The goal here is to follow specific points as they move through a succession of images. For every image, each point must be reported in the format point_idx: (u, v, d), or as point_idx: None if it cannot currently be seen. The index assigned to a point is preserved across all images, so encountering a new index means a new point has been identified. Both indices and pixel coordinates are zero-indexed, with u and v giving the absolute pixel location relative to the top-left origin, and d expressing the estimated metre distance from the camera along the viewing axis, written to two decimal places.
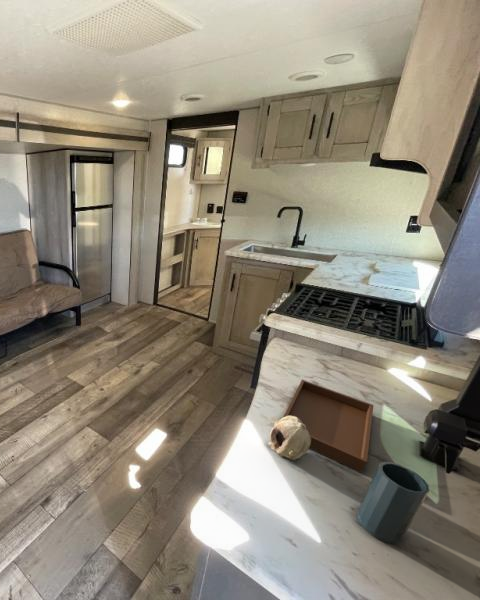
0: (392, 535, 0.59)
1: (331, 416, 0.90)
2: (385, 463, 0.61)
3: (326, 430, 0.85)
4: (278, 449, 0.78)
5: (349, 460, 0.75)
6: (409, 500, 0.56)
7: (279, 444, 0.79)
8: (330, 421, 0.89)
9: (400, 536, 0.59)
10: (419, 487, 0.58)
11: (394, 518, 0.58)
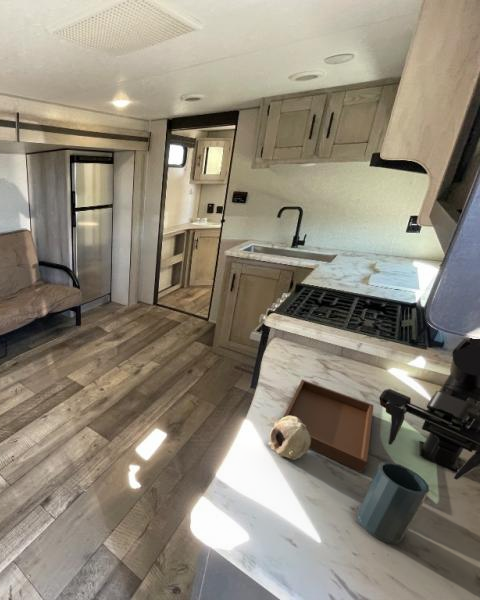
0: (392, 535, 0.59)
1: (331, 416, 0.90)
2: (385, 463, 0.61)
3: (326, 430, 0.85)
4: (278, 449, 0.78)
5: (349, 460, 0.75)
6: (409, 500, 0.56)
7: (279, 444, 0.79)
8: (330, 421, 0.89)
9: (400, 536, 0.59)
10: (419, 487, 0.58)
11: (394, 518, 0.58)
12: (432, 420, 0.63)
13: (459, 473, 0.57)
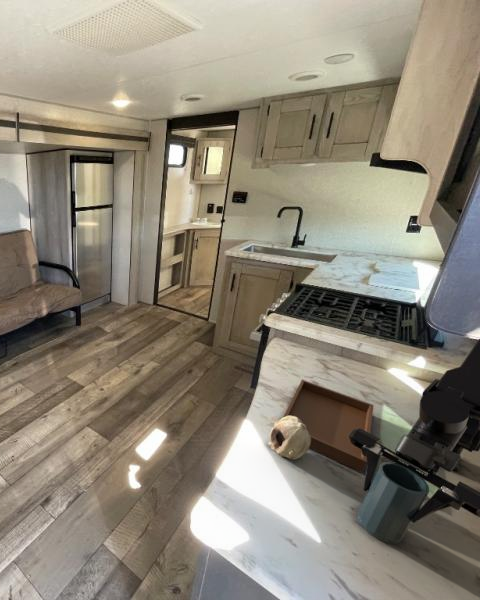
0: (392, 535, 0.59)
1: (331, 416, 0.90)
2: (385, 463, 0.61)
3: (326, 430, 0.85)
4: (278, 449, 0.78)
5: (349, 460, 0.75)
6: (409, 500, 0.56)
7: (279, 444, 0.79)
8: (330, 421, 0.89)
9: (400, 536, 0.59)
10: (419, 487, 0.58)
11: (394, 518, 0.58)
12: (400, 463, 0.61)
13: (416, 517, 0.56)
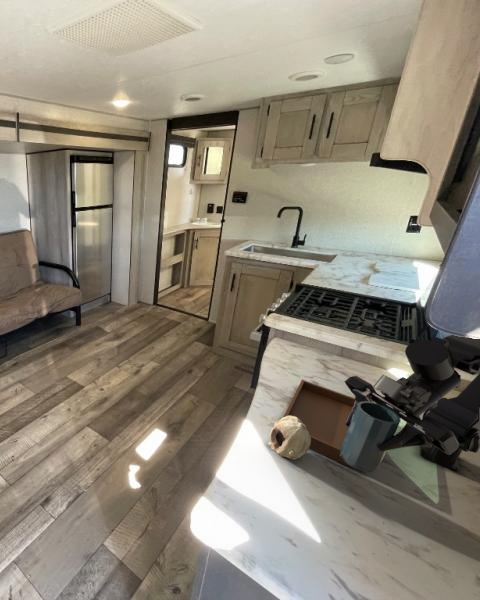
0: (362, 462, 0.67)
1: (331, 416, 0.90)
2: (368, 402, 0.68)
3: (326, 430, 0.85)
4: (278, 449, 0.78)
5: None
6: (375, 428, 0.64)
7: (279, 444, 0.79)
8: (330, 421, 0.89)
9: (371, 465, 0.66)
10: None
11: (363, 445, 0.66)
12: (385, 406, 0.68)
13: (383, 445, 0.64)
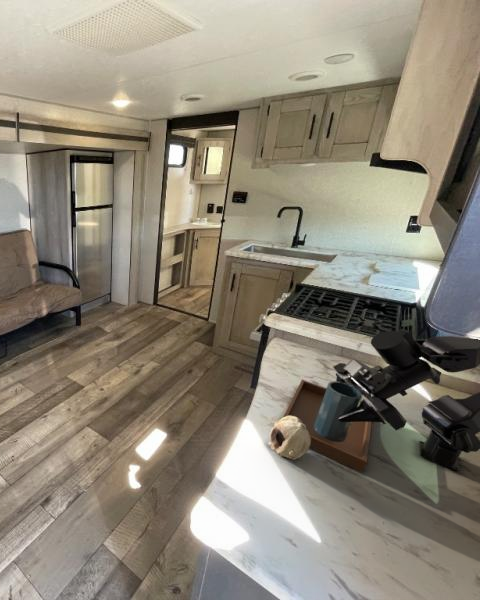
0: (326, 430, 0.79)
1: None
2: (342, 382, 0.79)
3: None
4: (278, 449, 0.78)
5: (349, 460, 0.75)
6: (336, 400, 0.76)
7: (279, 444, 0.79)
8: None
9: (333, 434, 0.78)
10: None
11: (327, 415, 0.78)
12: (359, 388, 0.78)
13: (342, 416, 0.75)
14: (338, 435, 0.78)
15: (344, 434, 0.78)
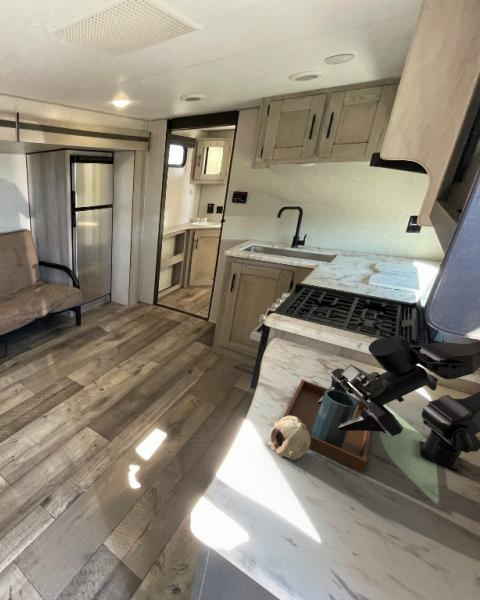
0: (323, 438, 0.80)
1: None
2: (338, 391, 0.80)
3: None
4: (278, 449, 0.78)
5: (349, 460, 0.75)
6: (332, 409, 0.77)
7: (279, 444, 0.79)
8: None
9: (330, 442, 0.79)
10: None
11: (324, 423, 0.79)
12: (356, 394, 0.78)
13: (342, 425, 0.75)
14: (335, 443, 0.79)
15: (340, 442, 0.78)
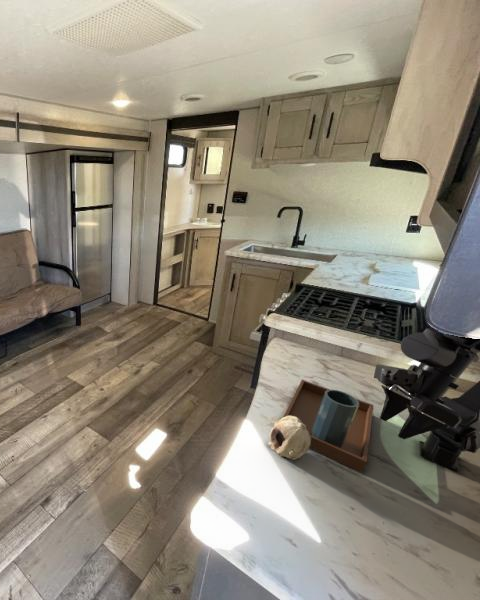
0: (323, 438, 0.80)
1: None
2: (338, 391, 0.80)
3: None
4: (278, 449, 0.78)
5: (349, 460, 0.75)
6: (332, 409, 0.77)
7: (279, 444, 0.79)
8: None
9: (330, 442, 0.79)
10: None
11: (324, 423, 0.79)
12: (409, 395, 0.71)
13: (400, 432, 0.67)
14: (335, 443, 0.79)
15: (340, 442, 0.78)
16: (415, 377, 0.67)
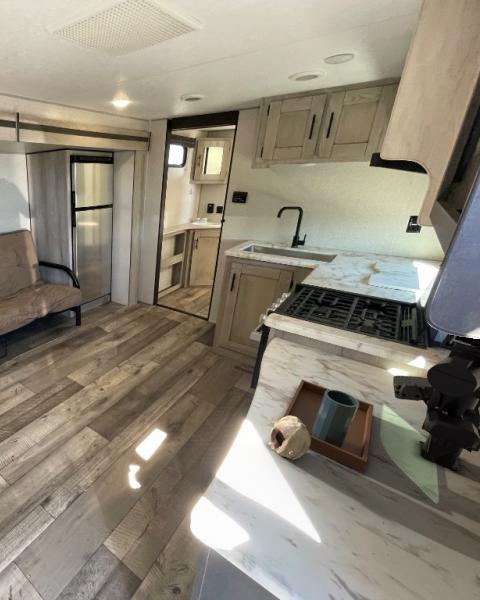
0: (323, 438, 0.80)
1: None
2: (338, 391, 0.80)
3: None
4: (278, 449, 0.78)
5: (349, 460, 0.75)
6: (332, 409, 0.77)
7: (279, 444, 0.79)
8: None
9: (330, 442, 0.79)
10: None
11: (324, 423, 0.79)
12: None
13: (427, 450, 0.63)
14: (335, 443, 0.79)
15: (340, 442, 0.78)
16: (431, 390, 0.62)
